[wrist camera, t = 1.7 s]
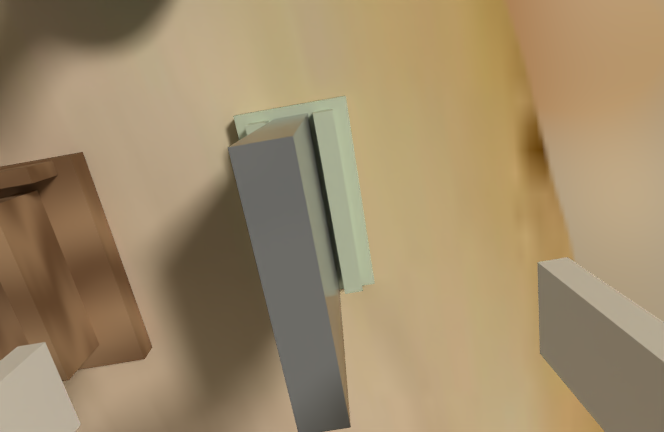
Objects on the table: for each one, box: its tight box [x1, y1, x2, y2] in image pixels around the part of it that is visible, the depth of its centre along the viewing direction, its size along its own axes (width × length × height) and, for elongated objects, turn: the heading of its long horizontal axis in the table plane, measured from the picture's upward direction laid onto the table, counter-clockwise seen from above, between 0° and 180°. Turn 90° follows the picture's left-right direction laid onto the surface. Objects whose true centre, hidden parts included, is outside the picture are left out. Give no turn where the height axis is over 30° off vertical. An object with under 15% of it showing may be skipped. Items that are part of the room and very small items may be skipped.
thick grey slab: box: [228, 113, 351, 432], centre depth 18 cm, size 10×2×11 cm, turn 10°
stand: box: [233, 96, 375, 294], centre depth 23 cm, size 11×6×3 cm, turn 10°
